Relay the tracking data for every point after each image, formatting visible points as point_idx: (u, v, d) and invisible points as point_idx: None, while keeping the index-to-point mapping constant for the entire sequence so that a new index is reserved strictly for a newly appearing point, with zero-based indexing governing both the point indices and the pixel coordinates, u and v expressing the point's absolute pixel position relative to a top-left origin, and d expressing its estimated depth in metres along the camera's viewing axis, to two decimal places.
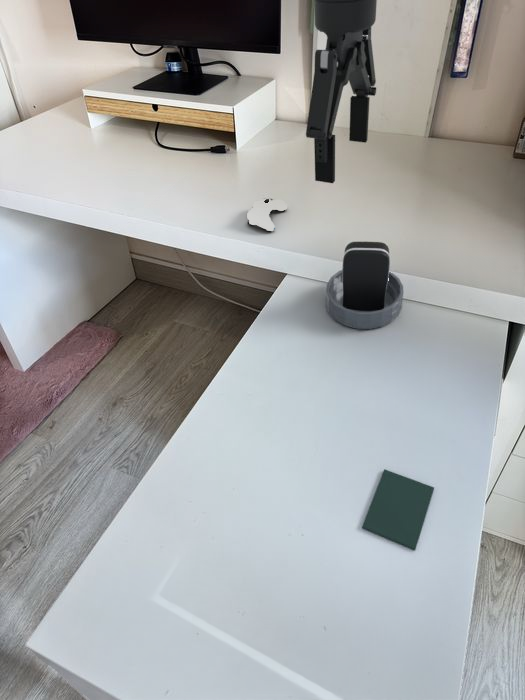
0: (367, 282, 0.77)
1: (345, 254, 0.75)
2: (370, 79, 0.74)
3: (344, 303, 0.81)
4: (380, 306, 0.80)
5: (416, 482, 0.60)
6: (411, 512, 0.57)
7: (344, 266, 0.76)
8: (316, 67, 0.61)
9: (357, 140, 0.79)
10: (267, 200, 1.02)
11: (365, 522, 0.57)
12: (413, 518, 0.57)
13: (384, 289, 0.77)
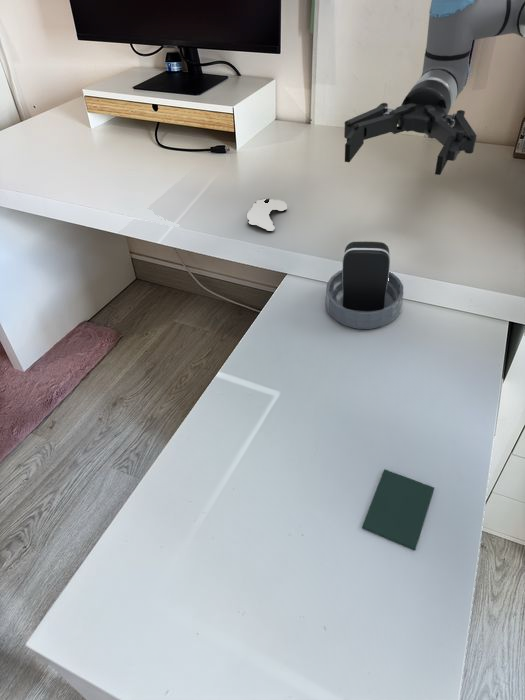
0: (367, 282, 0.77)
1: (345, 254, 0.75)
2: (465, 134, 0.75)
3: (344, 303, 0.81)
4: (380, 306, 0.80)
5: (416, 482, 0.60)
6: (411, 512, 0.57)
7: (344, 266, 0.76)
8: None
9: None
10: (267, 200, 1.02)
11: (365, 522, 0.57)
12: (413, 518, 0.57)
13: (384, 289, 0.77)
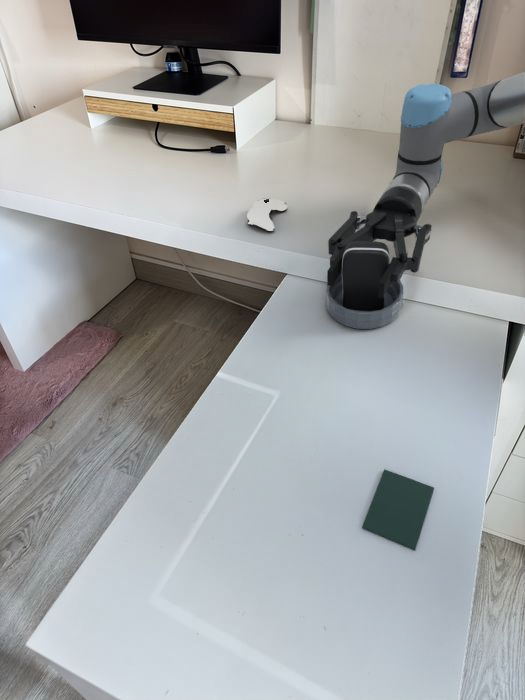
0: (366, 282, 0.77)
1: (344, 254, 0.75)
2: None
3: (344, 303, 0.81)
4: (380, 306, 0.80)
5: (416, 482, 0.60)
6: (411, 512, 0.57)
7: (343, 266, 0.76)
8: None
9: (379, 289, 0.73)
10: (267, 200, 1.02)
11: (365, 522, 0.57)
12: (413, 518, 0.57)
13: None
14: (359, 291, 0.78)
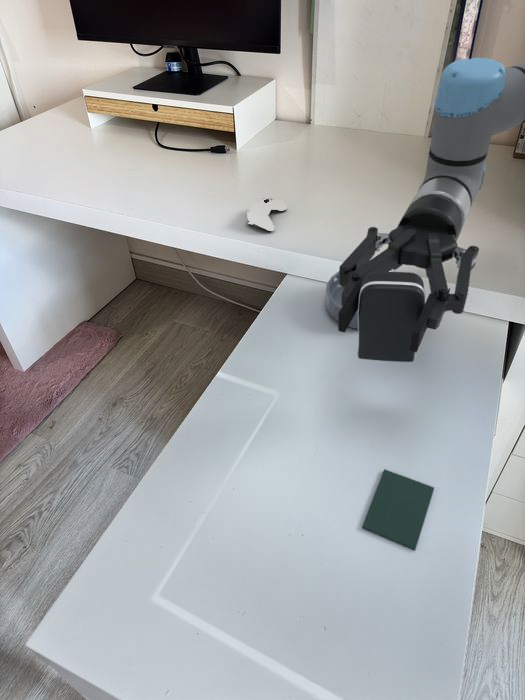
0: (392, 327, 0.56)
1: (363, 289, 0.54)
2: (456, 288, 0.55)
3: (360, 352, 0.60)
4: (409, 357, 0.59)
5: (416, 482, 0.60)
6: (411, 512, 0.57)
7: (361, 305, 0.55)
8: None
9: (411, 340, 0.52)
10: (267, 200, 1.02)
11: (365, 522, 0.57)
12: (413, 518, 0.57)
13: None
14: (381, 338, 0.58)
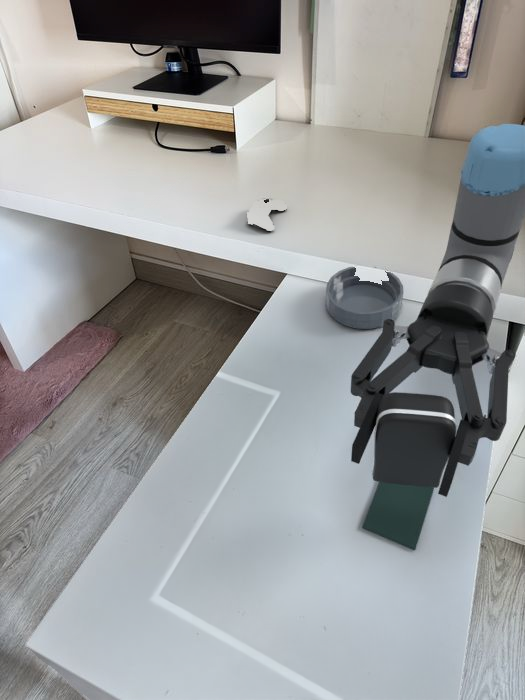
0: (415, 456, 0.47)
1: (381, 418, 0.45)
2: (491, 412, 0.46)
3: (375, 475, 0.51)
4: (434, 483, 0.50)
5: None
6: (411, 512, 0.57)
7: (379, 434, 0.46)
8: None
9: (441, 484, 0.43)
10: (267, 200, 1.02)
11: (365, 522, 0.57)
12: (413, 518, 0.57)
13: (443, 465, 0.47)
14: (401, 464, 0.49)
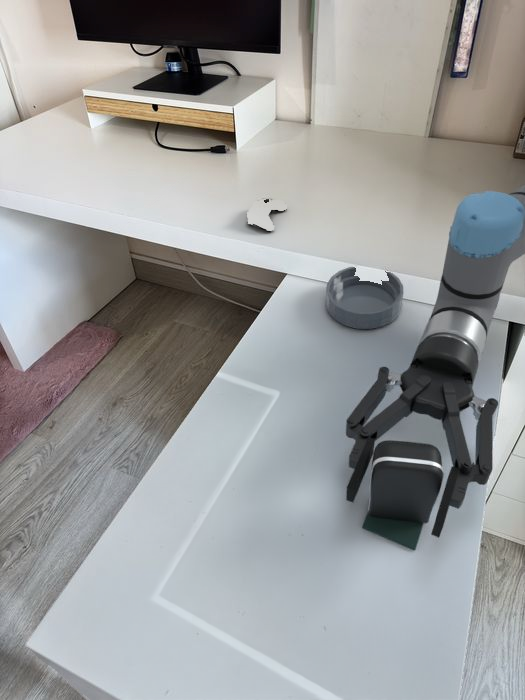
0: (407, 496, 0.52)
1: (376, 464, 0.50)
2: (479, 459, 0.52)
3: (371, 512, 0.56)
4: (424, 519, 0.55)
5: None
6: None
7: (374, 478, 0.51)
8: None
9: None
10: (267, 200, 1.02)
11: (365, 522, 0.57)
12: None
13: (432, 505, 0.53)
14: (395, 503, 0.54)
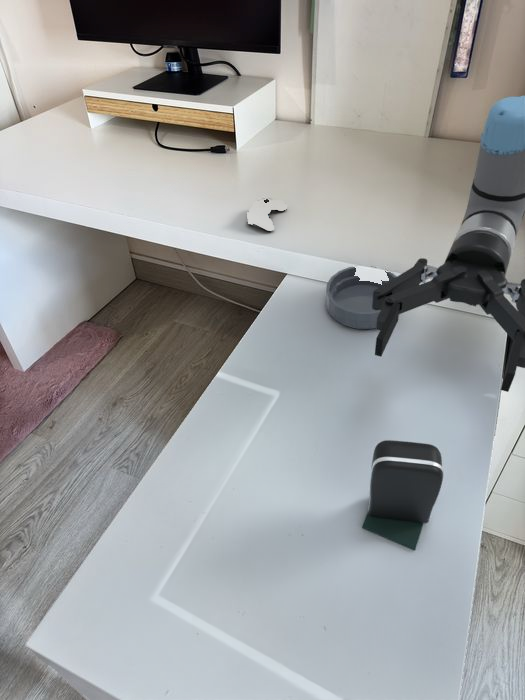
0: (407, 496, 0.52)
1: (376, 464, 0.50)
2: None
3: (371, 512, 0.56)
4: (424, 519, 0.55)
5: None
6: None
7: (374, 478, 0.51)
8: None
9: (504, 380, 0.52)
10: (267, 200, 1.02)
11: (365, 522, 0.57)
12: None
13: (432, 505, 0.53)
14: (395, 503, 0.54)
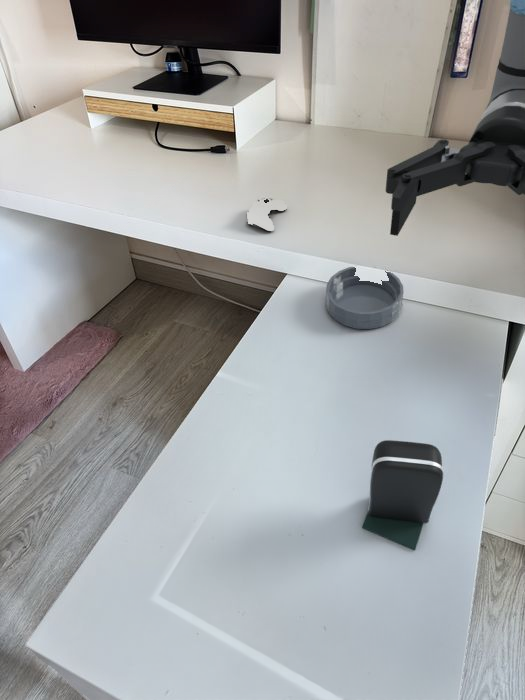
0: (407, 496, 0.52)
1: (376, 464, 0.50)
2: None
3: (371, 512, 0.56)
4: (424, 519, 0.55)
5: None
6: None
7: (374, 478, 0.51)
8: None
9: None
10: (267, 200, 1.02)
11: (365, 522, 0.57)
12: None
13: (432, 505, 0.53)
14: (395, 503, 0.54)
